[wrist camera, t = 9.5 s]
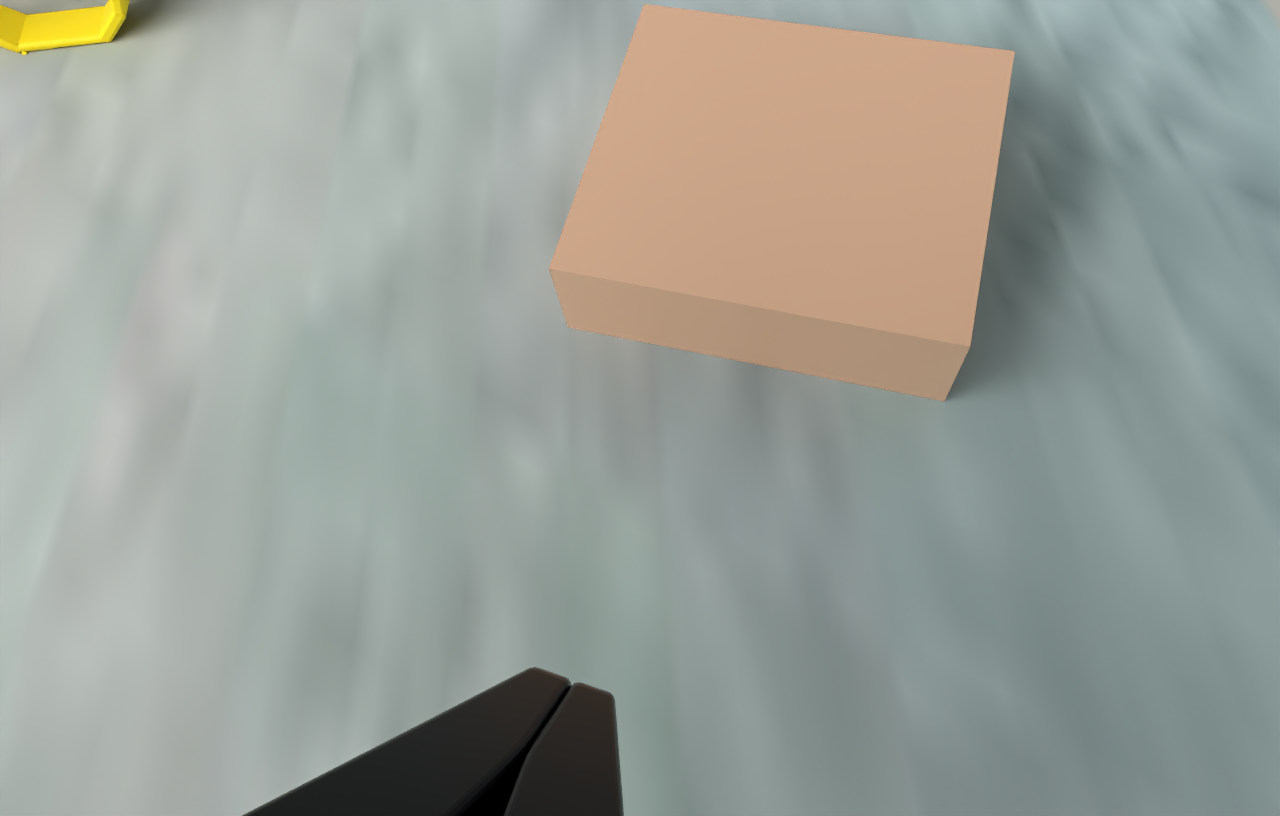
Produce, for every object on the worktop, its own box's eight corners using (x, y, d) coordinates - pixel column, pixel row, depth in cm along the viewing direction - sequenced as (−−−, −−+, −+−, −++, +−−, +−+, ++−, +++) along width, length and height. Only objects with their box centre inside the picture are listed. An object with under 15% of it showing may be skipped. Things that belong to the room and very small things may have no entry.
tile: (970, 346, 19) (1015, 51, 22) (549, 268, 21) (644, 3, 24) (940, 408, 22) (984, 137, 25) (570, 334, 24) (653, 89, 27)
